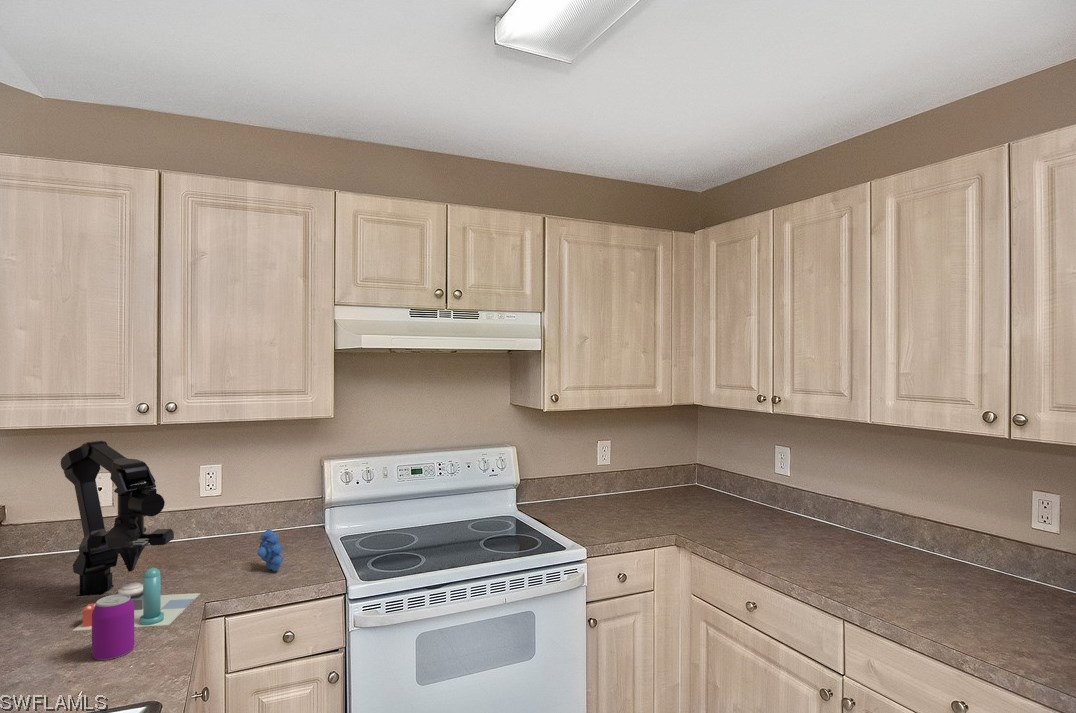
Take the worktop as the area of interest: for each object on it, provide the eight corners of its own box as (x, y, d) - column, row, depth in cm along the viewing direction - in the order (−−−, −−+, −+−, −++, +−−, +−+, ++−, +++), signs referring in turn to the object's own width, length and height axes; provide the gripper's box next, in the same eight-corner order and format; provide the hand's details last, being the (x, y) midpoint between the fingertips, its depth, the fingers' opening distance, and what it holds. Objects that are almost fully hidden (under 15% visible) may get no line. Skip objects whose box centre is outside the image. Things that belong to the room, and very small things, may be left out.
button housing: (103, 611, 158) (103, 601, 158) (121, 598, 167) (121, 588, 167) (141, 609, 159) (141, 599, 159) (157, 596, 168) (157, 586, 168)
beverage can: (142, 645, 141) (141, 592, 140) (120, 662, 133) (120, 606, 133) (106, 646, 140) (106, 592, 140) (83, 663, 133) (83, 606, 133)
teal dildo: (135, 625, 150) (135, 572, 150) (145, 617, 155) (145, 565, 155) (158, 624, 150) (158, 571, 150) (167, 615, 155) (167, 564, 155)
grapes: (248, 568, 190) (248, 529, 190) (270, 563, 195) (270, 524, 195) (265, 578, 183) (265, 537, 182) (288, 572, 188) (288, 532, 187)
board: (72, 632, 147) (72, 630, 147) (115, 599, 167) (115, 597, 167) (168, 626, 150) (168, 624, 150) (200, 594, 170) (200, 593, 170)
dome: (113, 597, 160) (113, 589, 160) (124, 589, 165) (124, 581, 165) (137, 596, 161) (137, 588, 161) (147, 588, 166) (147, 580, 166)
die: (82, 627, 149) (82, 608, 149) (88, 620, 153) (88, 602, 153) (102, 624, 150) (102, 606, 150) (107, 618, 154) (107, 600, 154)
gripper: (73, 520, 153) (73, 584, 153) (155, 518, 156) (155, 580, 156) (97, 509, 164) (97, 568, 164) (174, 507, 167) (174, 565, 167)
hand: (131, 571), depth 163 cm, fingers closed
